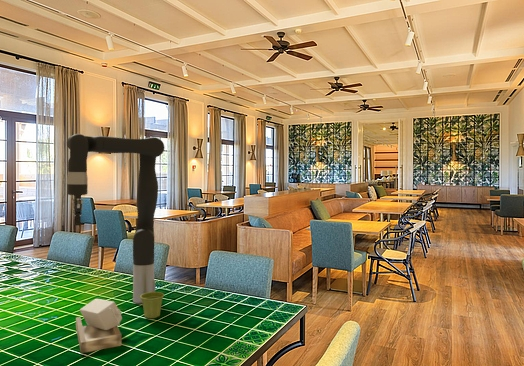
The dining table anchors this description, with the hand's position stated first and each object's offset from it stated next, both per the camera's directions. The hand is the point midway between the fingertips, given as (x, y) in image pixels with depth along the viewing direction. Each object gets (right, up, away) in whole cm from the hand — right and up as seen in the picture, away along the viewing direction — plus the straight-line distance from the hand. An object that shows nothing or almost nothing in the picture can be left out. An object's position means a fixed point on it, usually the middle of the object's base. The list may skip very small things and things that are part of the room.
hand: (77, 225), depth 160 cm
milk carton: (+10, -33, -9) cm, 35 cm away
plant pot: (+31, -38, 0) cm, 49 cm away
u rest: (+17, -38, -19) cm, 46 cm away
